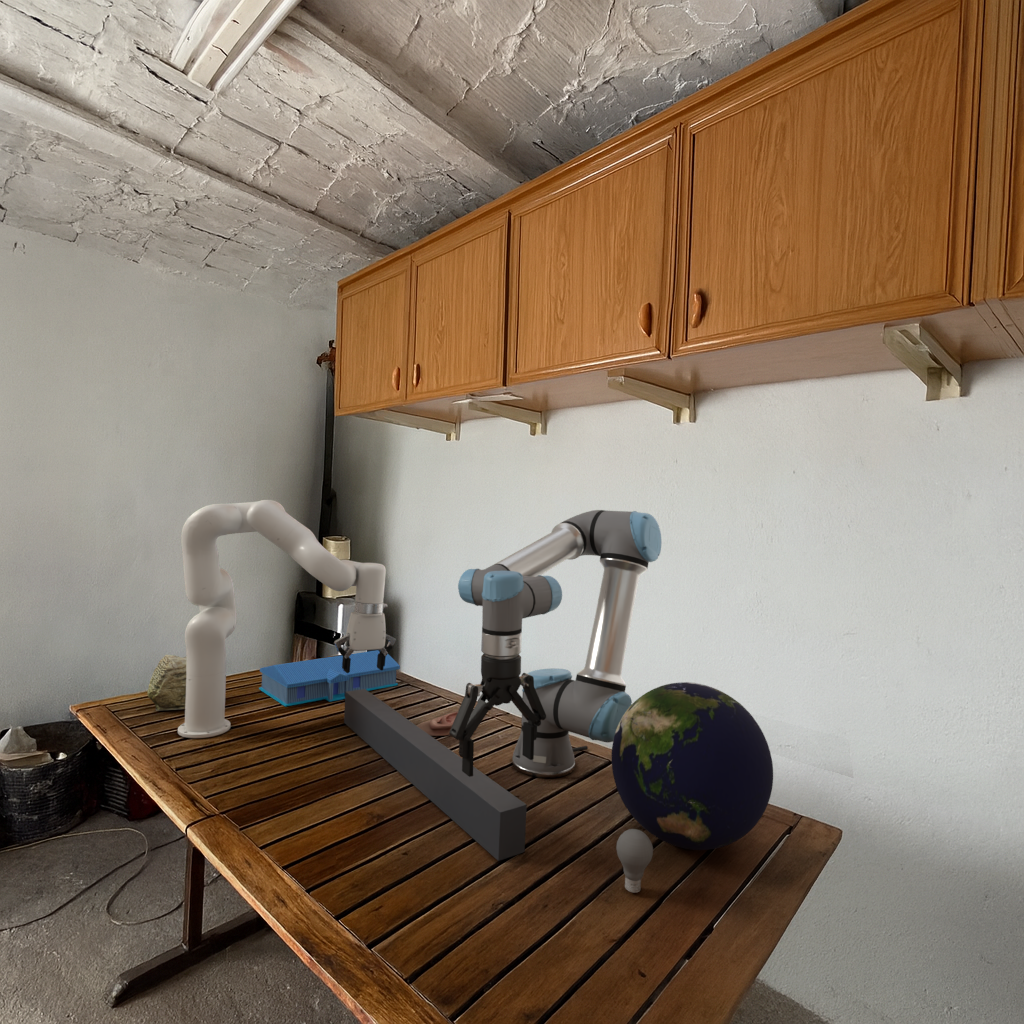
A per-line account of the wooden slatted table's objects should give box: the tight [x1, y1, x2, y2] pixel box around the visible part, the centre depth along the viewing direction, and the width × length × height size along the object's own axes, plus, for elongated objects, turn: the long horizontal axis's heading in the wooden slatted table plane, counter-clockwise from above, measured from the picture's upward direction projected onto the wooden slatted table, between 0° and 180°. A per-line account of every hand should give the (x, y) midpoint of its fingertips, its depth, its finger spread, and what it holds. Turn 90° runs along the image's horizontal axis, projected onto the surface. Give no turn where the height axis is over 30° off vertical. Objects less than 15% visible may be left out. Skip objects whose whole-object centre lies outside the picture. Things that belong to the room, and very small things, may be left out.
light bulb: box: [615, 828, 654, 894], centre depth 106 cm, size 6×6×10 cm
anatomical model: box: [416, 711, 458, 737], centre depth 175 cm, size 13×4×12 cm
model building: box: [258, 650, 401, 707], centre depth 208 cm, size 39×24×10 cm, turn 132°
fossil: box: [147, 654, 187, 712], centre depth 185 cm, size 9×18×15 cm, turn 132°
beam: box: [343, 689, 528, 862], centre depth 147 cm, size 79×6×9 cm, turn 35°
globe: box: [610, 681, 774, 851], centre depth 122 cm, size 30×30×30 cm
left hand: (363, 670), depth 173 cm, fingers open, 9 cm apart
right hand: (498, 765), depth 120 cm, fingers open, 13 cm apart
